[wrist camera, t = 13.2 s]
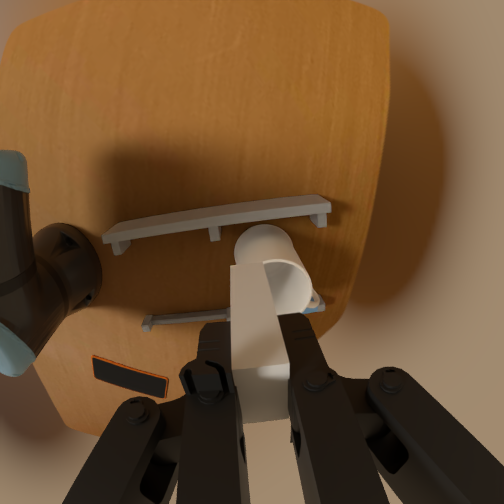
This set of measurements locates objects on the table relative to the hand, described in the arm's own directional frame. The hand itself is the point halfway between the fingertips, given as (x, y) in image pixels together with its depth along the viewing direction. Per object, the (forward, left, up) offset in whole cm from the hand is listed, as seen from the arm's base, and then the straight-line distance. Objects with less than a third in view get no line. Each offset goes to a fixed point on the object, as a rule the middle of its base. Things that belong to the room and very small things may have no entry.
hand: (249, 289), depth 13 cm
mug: (+4, -10, -26) cm, 27 cm away
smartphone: (-28, -32, -26) cm, 50 cm away
